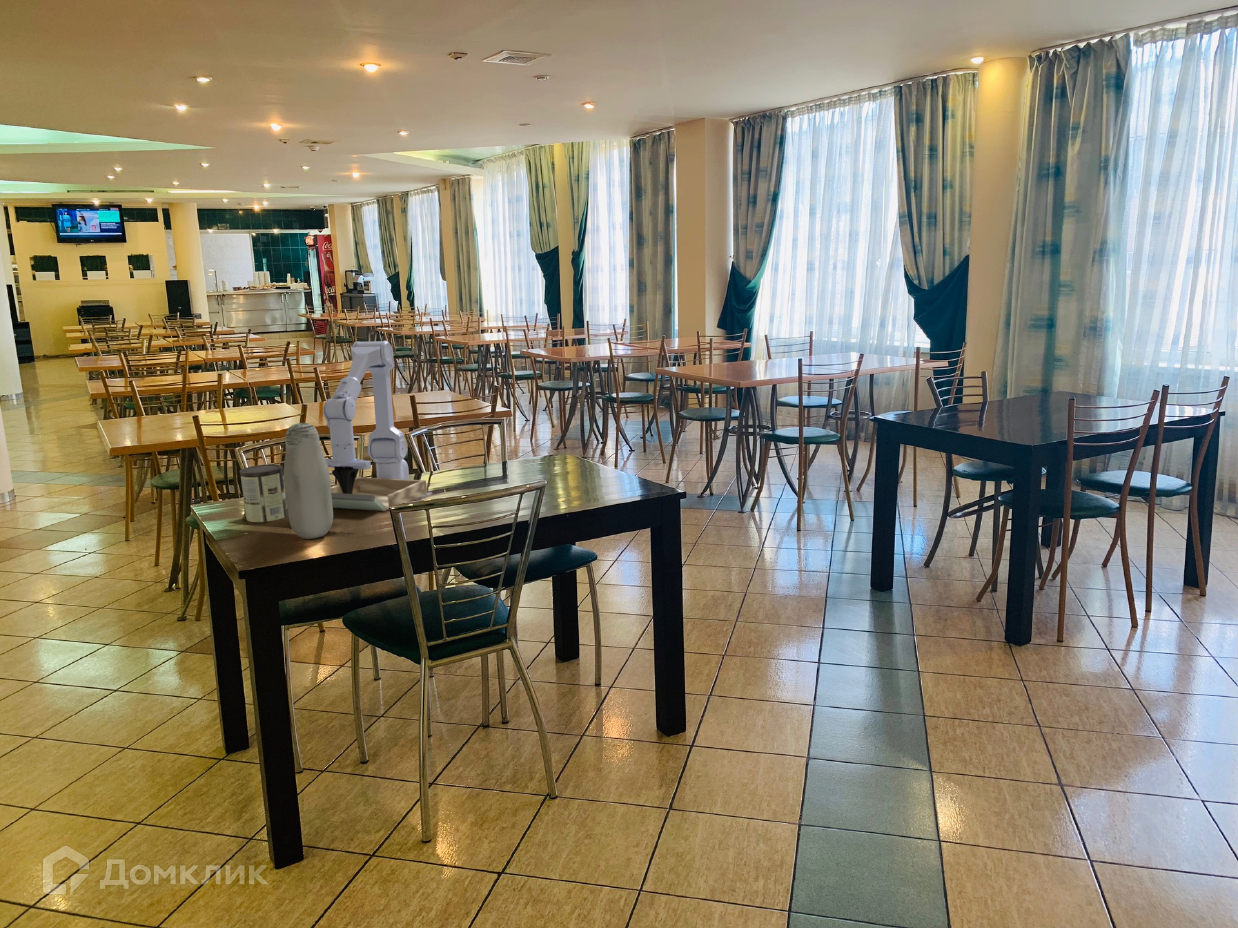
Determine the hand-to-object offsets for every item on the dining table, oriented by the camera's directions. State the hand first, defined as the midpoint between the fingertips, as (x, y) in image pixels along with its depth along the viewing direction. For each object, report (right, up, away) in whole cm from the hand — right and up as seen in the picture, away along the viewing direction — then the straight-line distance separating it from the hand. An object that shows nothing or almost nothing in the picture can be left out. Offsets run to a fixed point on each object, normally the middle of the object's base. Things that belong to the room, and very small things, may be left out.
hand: (347, 494), depth 234 cm
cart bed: (+4, -3, +11) cm, 12 cm away
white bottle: (-3, -10, -19) cm, 21 cm away
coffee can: (-20, -7, -3) cm, 21 cm away
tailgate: (+1, -4, +3) cm, 5 cm away
